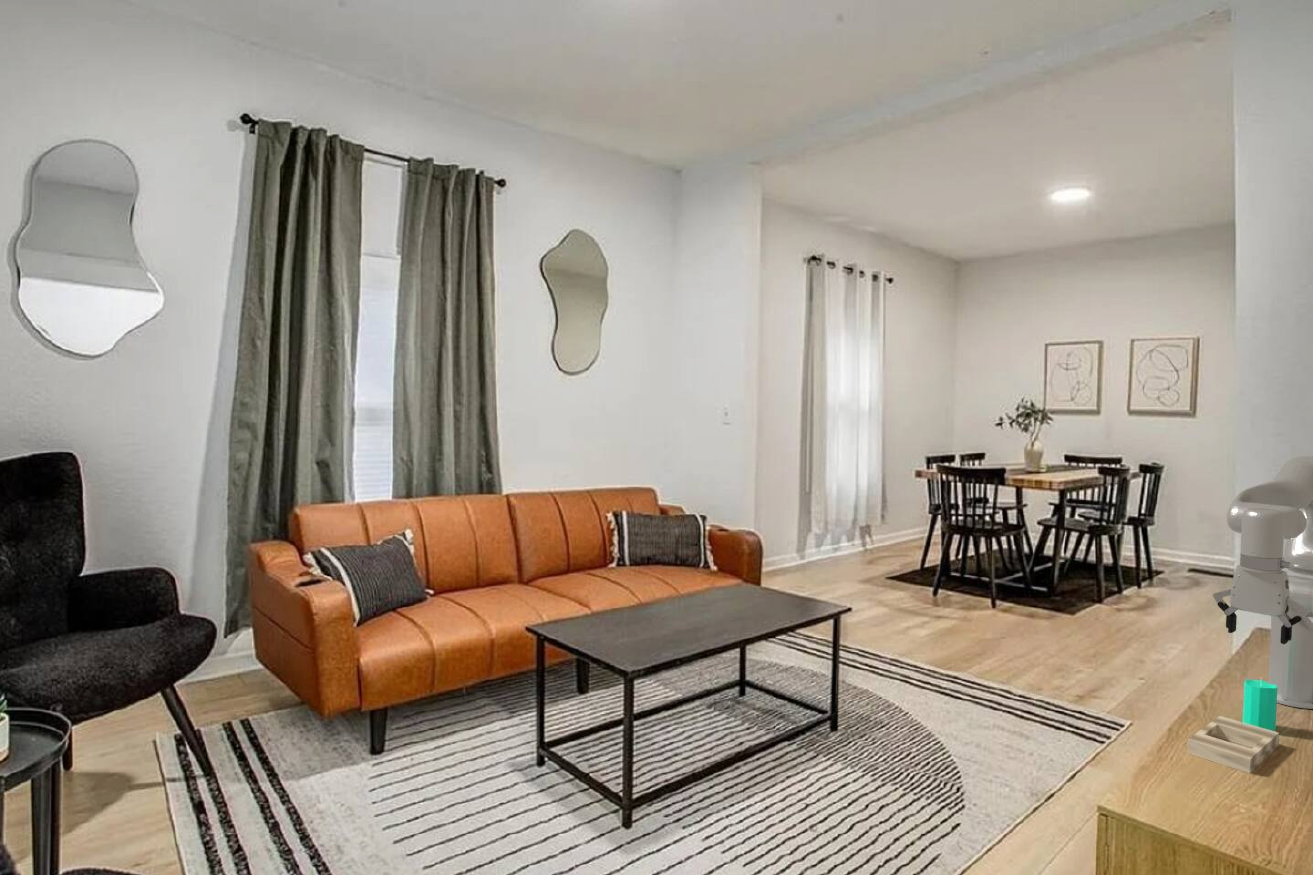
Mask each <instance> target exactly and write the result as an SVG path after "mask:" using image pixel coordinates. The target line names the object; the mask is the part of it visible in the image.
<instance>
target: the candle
mask: <svg viewBox="0 0 1313 875" xmlns="http://www.w3.org/2000/svg"><path fill="white" fill-rule="evenodd" d="M1243 687H1244V688H1243V704H1242V705H1243V707H1242V708H1243V709H1242V722H1243V723H1246V724H1250V725H1253V726H1257V727H1260V728H1264V729H1267V730H1271V731H1274V732H1276V729H1277V728H1276V727H1277V726H1276V724H1277V708H1278V707H1277V706H1278V704H1277V690H1278V687H1277V686H1276V685H1273V684H1269V683H1268V681H1264V680H1262V676H1261V677H1260V680H1258V679H1249V678H1247V679H1245V680H1244V686H1243Z"/></svg>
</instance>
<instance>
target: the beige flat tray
mask: <svg viewBox="0 0 1313 875" xmlns="http://www.w3.org/2000/svg"><path fill="white" fill-rule="evenodd" d="M1279 739H1280V732H1277V731H1275V732H1274V731H1271V730H1267V729H1264V728H1260V727H1257V726H1253V725H1250V724H1246V723H1243V721H1239V720H1235V719H1233V718H1228V717H1225V716H1222V715H1221V716H1220V715H1219V716H1217V717H1216V718H1214V719H1213V720H1212V721H1211V722H1209V723H1208V724H1207V725H1205V726H1203V727H1202V728H1201V729H1199V730H1198V731H1197V732H1195V733H1194V734H1193V735H1192V736H1191V737H1189V738H1188V739H1187V747H1186V753H1187V754H1189V755H1193V756H1195V757H1198V758H1201V759H1205V760H1208V761H1210V762H1214V763H1216V764H1219V765H1223V766H1225V767H1229V768H1231V769H1235V770H1238V771H1241V772H1244V773H1247V774H1252V772H1253V771H1254V770H1255V769H1256V768H1257V767H1259V765H1260V764H1261V763H1262V762H1263V761H1265V760H1266V759H1267V758H1268V757H1269V755H1271V754H1272V753H1273V752H1274V751H1275V750H1276V749H1277V748H1278V747H1279V743H1280V742H1279V741H1280V740H1279Z"/></svg>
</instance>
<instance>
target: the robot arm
mask: <svg viewBox="0 0 1313 875" xmlns="http://www.w3.org/2000/svg"><path fill="white" fill-rule="evenodd" d="M1226 522H1227V525H1228V527H1229V529H1231V530H1232V531H1233V532H1236V533H1239V534H1241V535H1240V553H1239V554H1240V555H1239V564H1238V565H1236V566H1235V571H1234V574H1233V578H1232V583H1231V588H1230V589H1224V590H1221V591H1218V592H1214V593H1213V594H1212V597H1213V599H1214V601H1215V602H1216V603H1217V604H1216V605H1217V606H1218V608H1219V609H1220V610H1221V611H1222V612H1224V615H1225V628H1226V629H1227V633H1228V634H1233V633H1234V632H1236V631H1237V622H1238V621H1237V619H1238V618H1237V617H1238V616H1237V614H1236V613H1235V612H1237V610H1239V611H1245V612H1248V613H1254V614H1260V615H1265V616H1269V617H1270V619H1271V620H1270V622H1271V623H1270V643H1269V644H1270V645H1269V646H1270V647H1269V664H1268V665H1269V666H1268V667H1269V668H1268V680H1267V683H1269V684H1273V685H1276V686H1277V687H1278V690H1277V703H1278V704H1281V705H1285V706H1288V707H1292V708H1299V709H1307V710H1309V709H1310V710H1313V622H1312V620H1311V619H1312V618H1313V578H1312V577H1313V456H1311V455H1310V456H1307V455H1305V456H1304V455H1301V456H1295V457H1292V458H1290V459H1288V460H1287V461H1286V462H1285V463H1284V464H1283V466H1282V467H1281V469H1280V470H1279V471H1278V474H1276V476H1275V477H1274V479H1273V480H1272V481H1271V480H1270V481H1268V482H1264V483H1260V484H1257V485H1254V486H1251V487H1249V488H1248V487H1247V488H1245V489H1244V490H1241V492H1239V493H1238V494H1237V495H1236V497H1235V498H1234V499H1233V501H1232V502H1231V504H1230V506H1229V507H1228V510H1227V513H1226ZM1284 540H1286V542H1285V547H1284ZM1284 569H1286V570H1288V571H1289V572H1292V573H1294V574H1299V575H1303V576H1298V575H1290V574H1289V575H1288V572H1287V571H1286V570H1284ZM1304 576H1305V577H1304ZM1307 576H1309V577H1307ZM1224 597H1230V600H1229V601H1230V606H1229V604H1227V603H1226V601H1225V600H1224ZM1310 618H1311V619H1310Z"/></svg>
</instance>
